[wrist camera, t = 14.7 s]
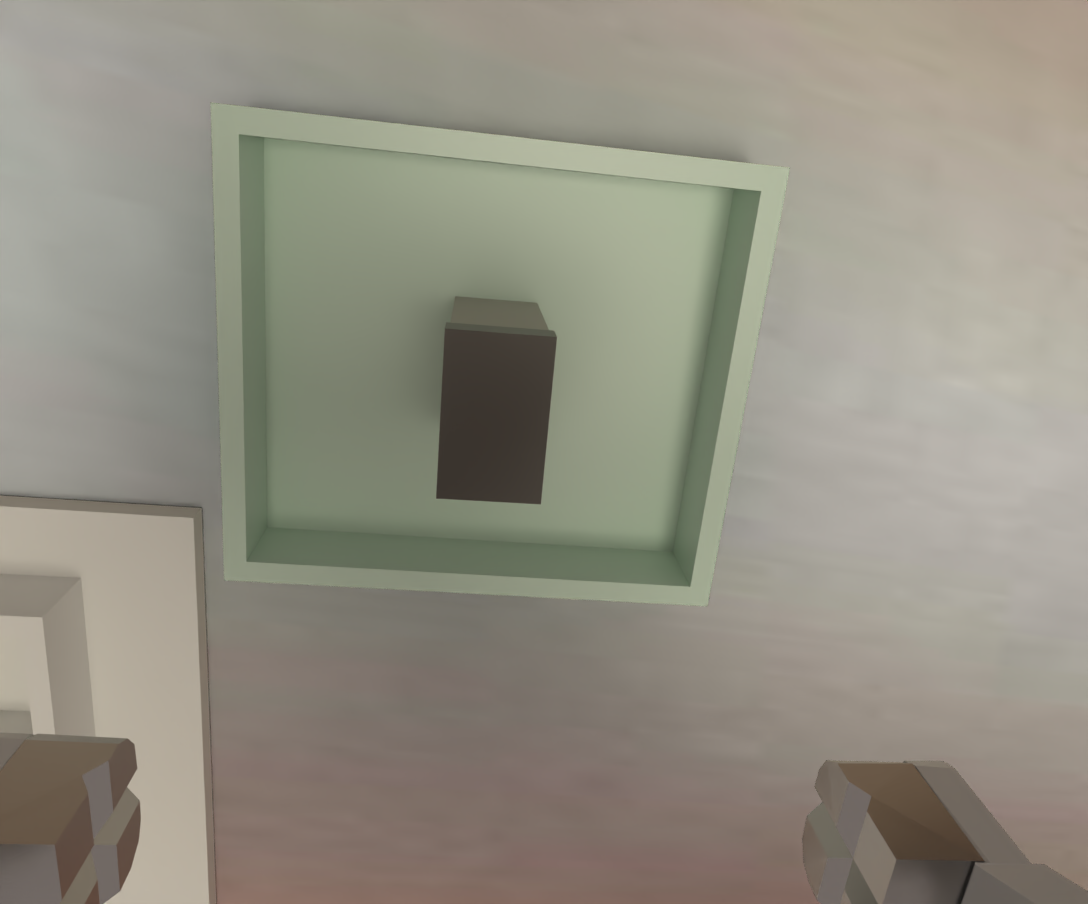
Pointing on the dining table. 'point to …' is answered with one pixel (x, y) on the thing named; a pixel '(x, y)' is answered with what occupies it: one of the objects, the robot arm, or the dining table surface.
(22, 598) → the fuse block
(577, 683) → the dining table surface
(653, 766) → the dining table surface
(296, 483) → the parts tray
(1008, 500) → the dining table surface
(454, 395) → the block
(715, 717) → the dining table surface
